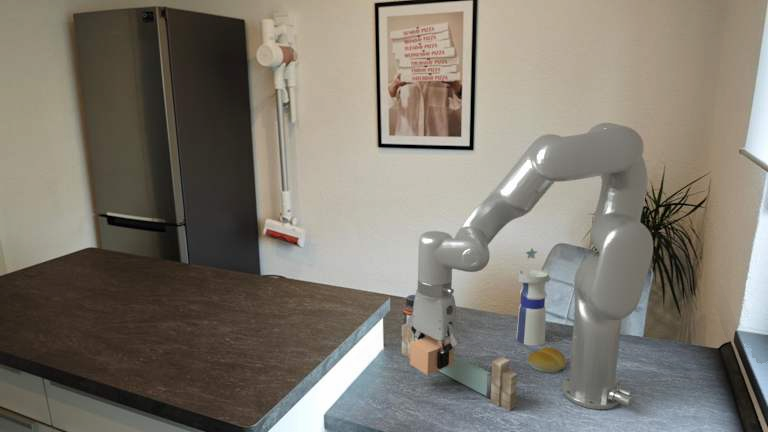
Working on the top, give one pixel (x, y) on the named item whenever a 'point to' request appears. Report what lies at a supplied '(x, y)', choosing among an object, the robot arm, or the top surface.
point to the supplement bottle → (408, 308)
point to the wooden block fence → (501, 375)
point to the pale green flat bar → (470, 376)
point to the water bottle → (532, 306)
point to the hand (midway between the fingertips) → (431, 360)
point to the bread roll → (547, 360)
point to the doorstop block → (427, 355)
